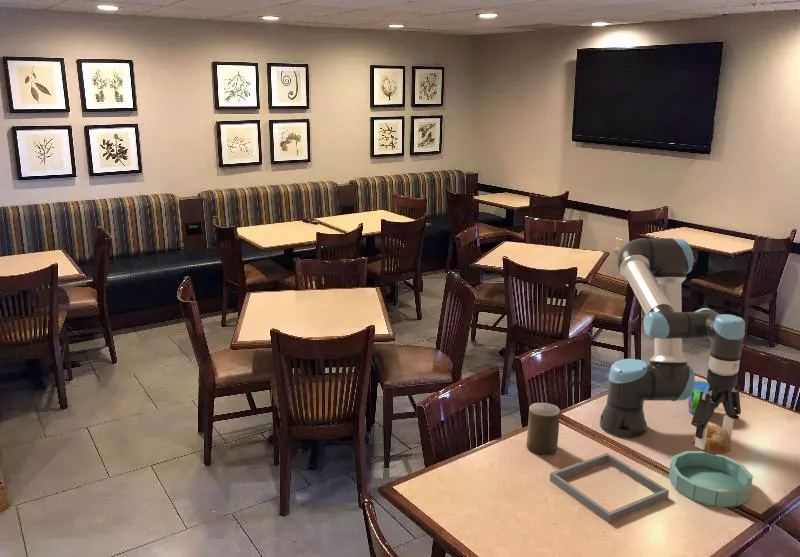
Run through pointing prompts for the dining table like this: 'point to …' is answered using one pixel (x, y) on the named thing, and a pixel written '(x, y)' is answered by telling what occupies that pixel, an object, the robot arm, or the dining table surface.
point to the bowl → (710, 479)
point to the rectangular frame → (608, 516)
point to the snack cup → (697, 395)
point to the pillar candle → (543, 428)
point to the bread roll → (716, 441)
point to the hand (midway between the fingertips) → (712, 442)
